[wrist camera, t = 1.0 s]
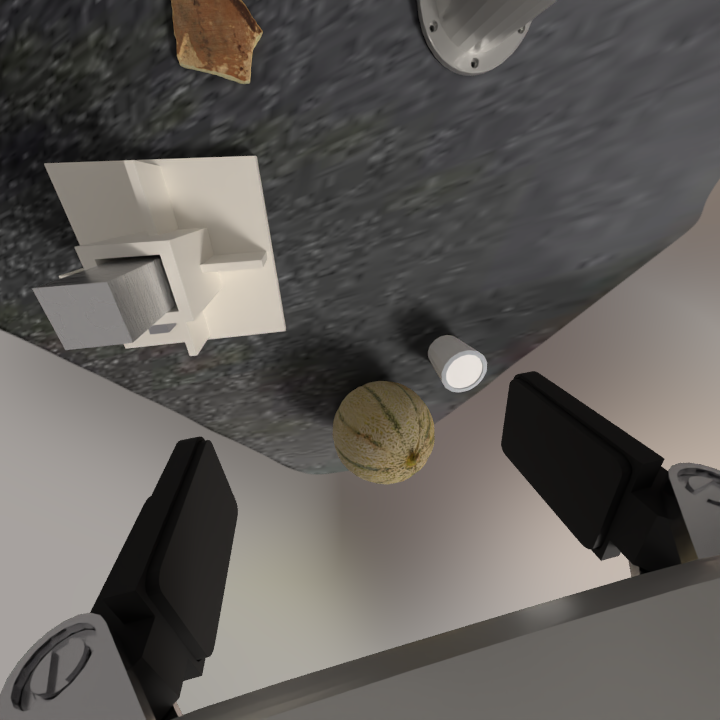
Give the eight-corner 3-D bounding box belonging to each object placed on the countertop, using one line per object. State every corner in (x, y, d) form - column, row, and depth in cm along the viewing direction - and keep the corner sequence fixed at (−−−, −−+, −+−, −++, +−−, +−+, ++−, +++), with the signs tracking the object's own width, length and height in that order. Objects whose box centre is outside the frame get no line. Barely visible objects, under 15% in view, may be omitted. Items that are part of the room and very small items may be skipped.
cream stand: (54, 164, 32) (-90, 145, 20) (256, 157, 34) (235, 136, 23) (131, 343, 41) (64, 402, 29) (285, 326, 44) (281, 374, 32)
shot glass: (416, 362, 50) (432, 385, 44) (437, 325, 48) (458, 343, 42) (450, 374, 53) (470, 398, 47) (472, 339, 50) (496, 359, 44)
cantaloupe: (309, 408, 51) (314, 482, 38) (373, 345, 48) (403, 402, 34) (371, 449, 57) (393, 524, 44) (431, 396, 54) (474, 460, 41)
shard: (171, -100, 26) (163, -120, 24) (267, -62, 28) (265, -78, 26) (179, 68, 31) (173, 61, 29) (261, 91, 32) (259, 86, 31)
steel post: (154, 245, 34) (30, 287, 18) (194, 242, 34) (107, 281, 19) (167, 283, 36) (65, 350, 20) (204, 280, 36) (134, 343, 21)
